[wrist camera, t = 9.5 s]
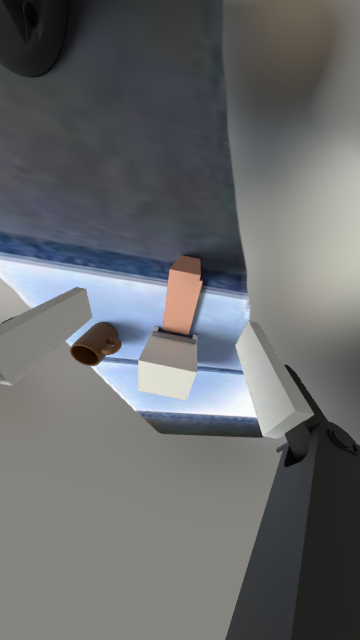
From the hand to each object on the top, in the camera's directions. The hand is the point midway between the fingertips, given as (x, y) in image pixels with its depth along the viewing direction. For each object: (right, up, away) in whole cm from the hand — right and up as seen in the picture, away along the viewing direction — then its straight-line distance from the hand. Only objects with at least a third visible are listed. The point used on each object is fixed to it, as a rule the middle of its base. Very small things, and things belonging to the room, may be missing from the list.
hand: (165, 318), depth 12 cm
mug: (-18, -3, +30) cm, 35 cm away
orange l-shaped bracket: (+2, +5, +22) cm, 22 cm away
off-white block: (-1, -8, +30) cm, 31 cm away
